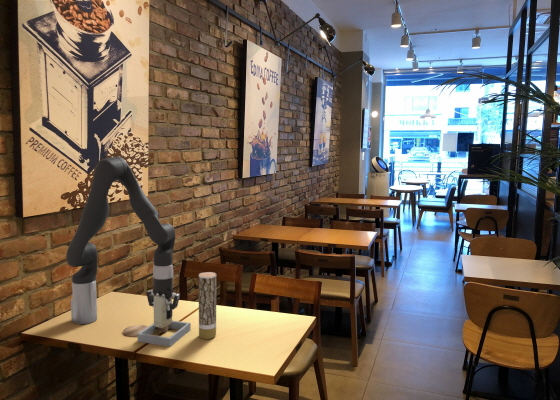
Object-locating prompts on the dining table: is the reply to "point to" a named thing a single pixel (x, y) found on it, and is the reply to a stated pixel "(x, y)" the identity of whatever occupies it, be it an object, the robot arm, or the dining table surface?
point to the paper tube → (207, 305)
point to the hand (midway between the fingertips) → (163, 317)
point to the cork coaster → (134, 330)
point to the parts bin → (160, 340)
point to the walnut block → (163, 328)
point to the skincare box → (160, 312)
